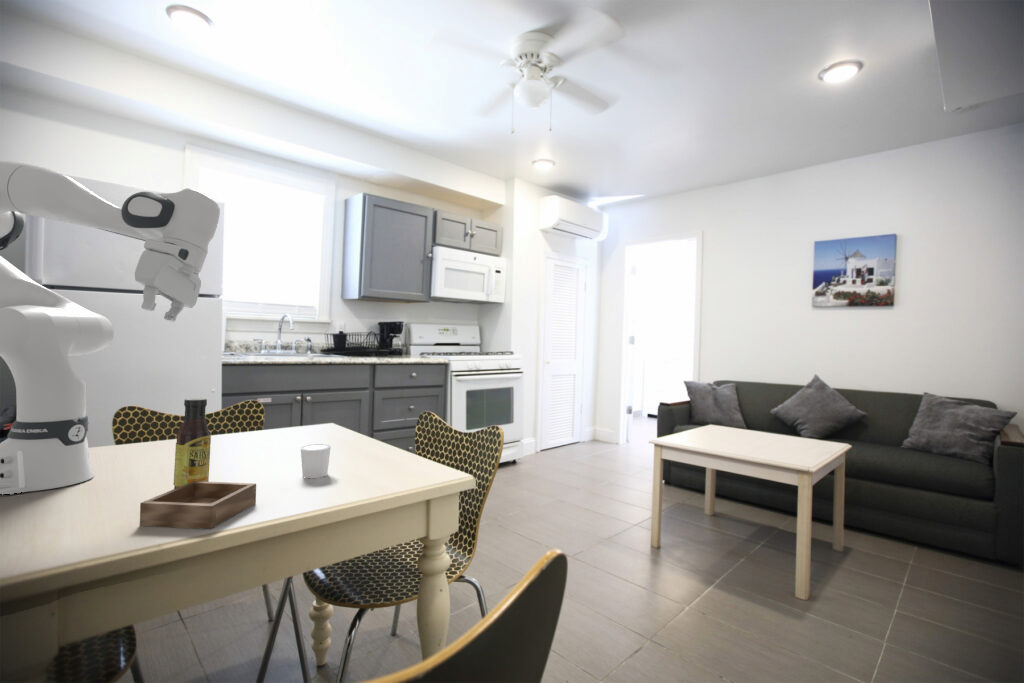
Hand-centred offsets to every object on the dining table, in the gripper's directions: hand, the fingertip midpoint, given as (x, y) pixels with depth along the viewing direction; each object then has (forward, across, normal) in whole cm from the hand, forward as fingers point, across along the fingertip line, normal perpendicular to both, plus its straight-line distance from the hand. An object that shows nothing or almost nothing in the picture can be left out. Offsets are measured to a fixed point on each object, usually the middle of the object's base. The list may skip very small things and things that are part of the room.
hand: (158, 315), depth 103 cm
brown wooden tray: (+36, +11, +25) cm, 45 cm away
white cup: (+29, -13, +39) cm, 50 cm away
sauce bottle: (+35, -4, +17) cm, 39 cm away
